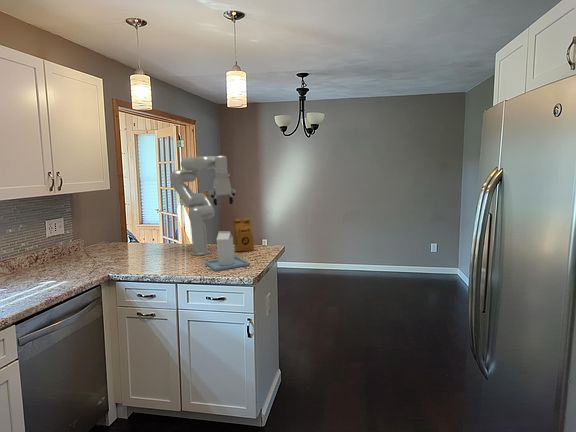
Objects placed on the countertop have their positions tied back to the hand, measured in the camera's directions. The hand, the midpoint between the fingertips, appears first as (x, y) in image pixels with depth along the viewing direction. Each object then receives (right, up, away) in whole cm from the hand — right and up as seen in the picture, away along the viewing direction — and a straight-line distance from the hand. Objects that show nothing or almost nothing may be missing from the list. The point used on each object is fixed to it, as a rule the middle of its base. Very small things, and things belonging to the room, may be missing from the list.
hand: (223, 204), depth 238 cm
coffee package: (+10, -31, +24) cm, 40 cm away
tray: (+5, -35, -15) cm, 38 cm away
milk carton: (+4, -35, -15) cm, 38 cm away
